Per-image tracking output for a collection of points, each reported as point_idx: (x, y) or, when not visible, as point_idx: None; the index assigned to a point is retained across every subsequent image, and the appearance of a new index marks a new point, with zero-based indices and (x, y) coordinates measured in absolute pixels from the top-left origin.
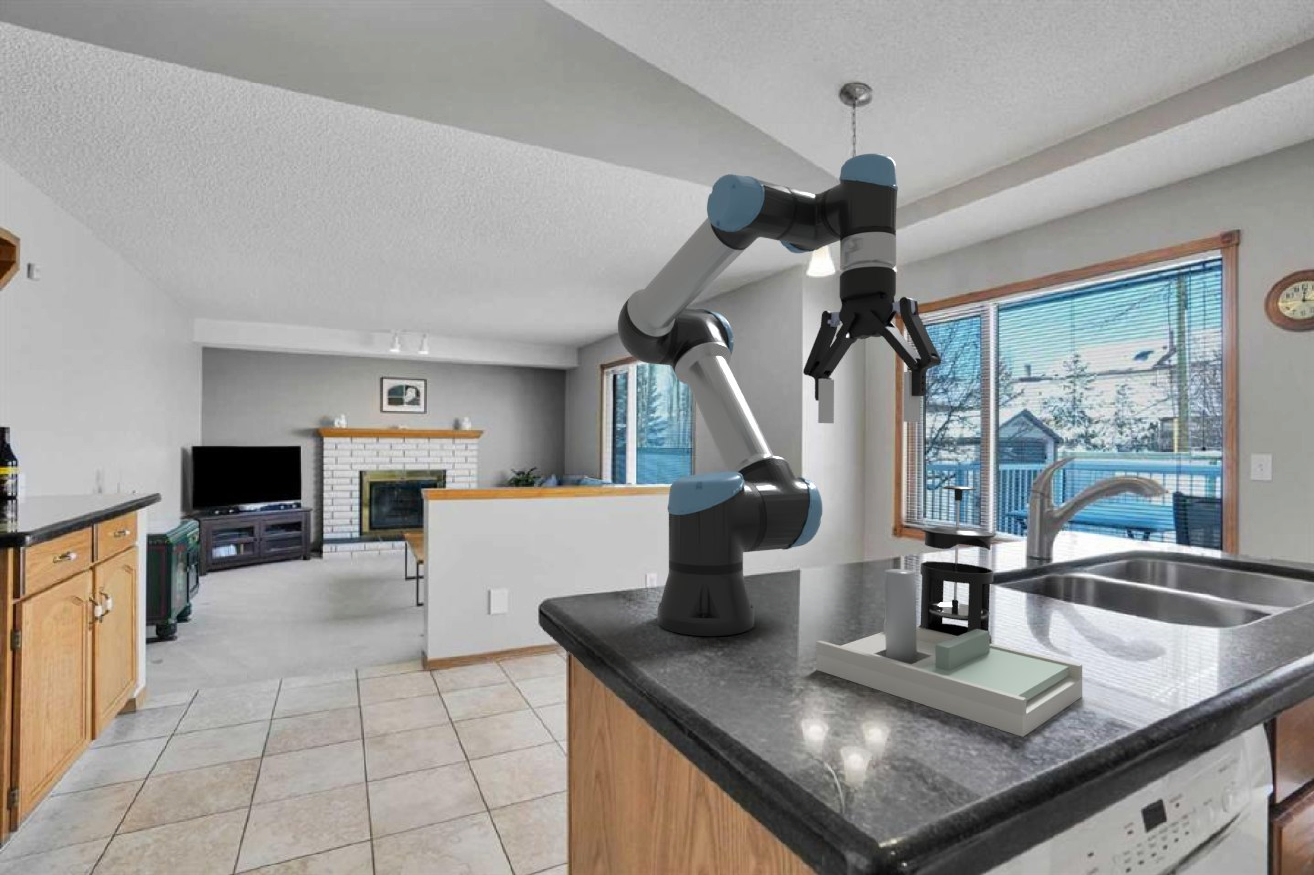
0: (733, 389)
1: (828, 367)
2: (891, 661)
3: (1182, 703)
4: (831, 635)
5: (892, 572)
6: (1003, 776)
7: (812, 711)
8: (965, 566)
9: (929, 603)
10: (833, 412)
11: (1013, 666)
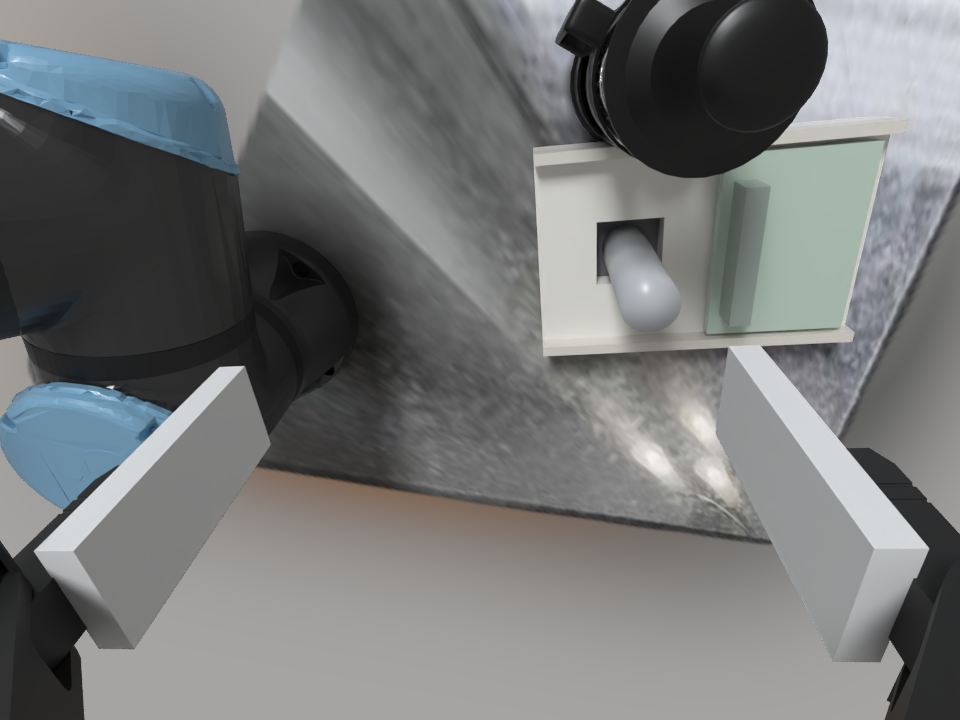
0: None
1: (63, 712)
2: (666, 345)
3: None
4: (436, 184)
5: (643, 321)
6: (833, 412)
7: (625, 432)
8: None
9: (598, 87)
10: (216, 400)
11: (808, 217)
